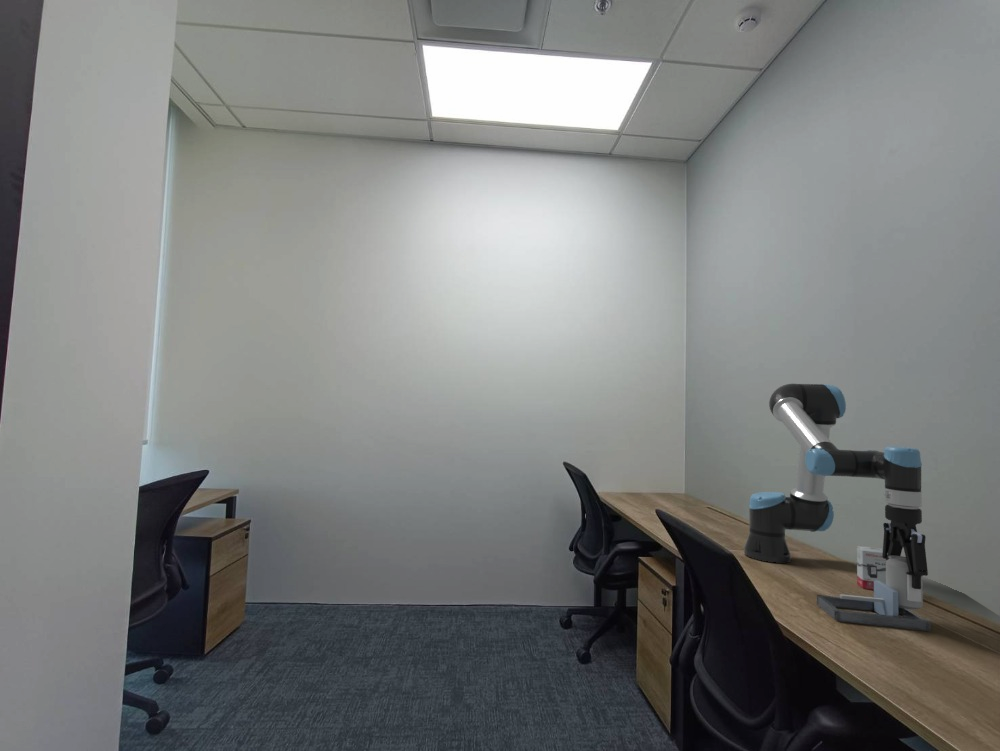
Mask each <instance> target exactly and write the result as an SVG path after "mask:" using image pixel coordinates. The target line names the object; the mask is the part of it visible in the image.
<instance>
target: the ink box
mask: <svg viewBox="0 0 1000 751" xmlns="http://www.w3.org/2000/svg"><path fill="white" fill-rule="evenodd" d="M882 554H883V548H878V547H872V546H861V545H859V546H857V547H856V572H857V573H856V574H857V576H856V577H857V578H856V580H857V582H856V584H857V585H858V586H859V587H860V588H862V590H871V591H874V580H876V581H880V582H882V583H883V584H885V585H886V559H884V558H883V557H882ZM887 554H888V553H887Z"/></svg>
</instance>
